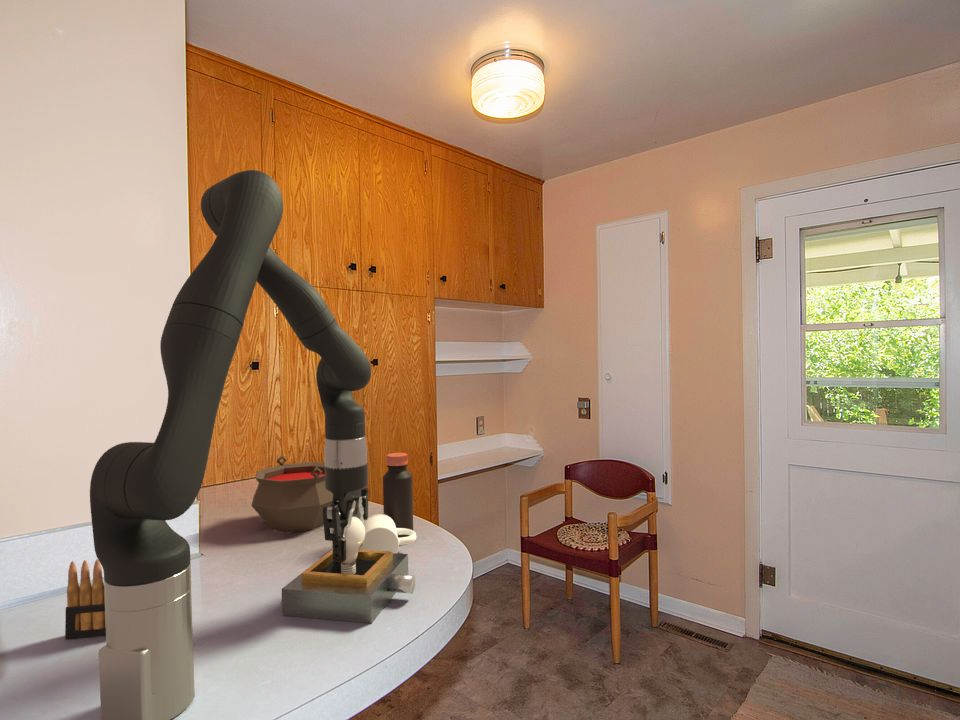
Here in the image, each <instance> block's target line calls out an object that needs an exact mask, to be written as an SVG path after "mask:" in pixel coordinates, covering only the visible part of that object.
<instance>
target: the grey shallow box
mask: <svg viewBox="0 0 960 720" xmlns="http://www.w3.org/2000/svg"><path fill="white" fill-rule="evenodd" d="M415 588H416V576H415V575H413V574H409V554H408V553H398V552H397V553H393V552H390V551H374V550H360V549H359V550H358V555H357V558H356V573H355V574H354V575H351V574H341V562H335V561H334V560H333V548H332V549H331V550H330V551H328V552H327V553H326V554H324V555H323V556H322V557H321V558H319V559H317V561H315V562H314V563H313V564H312V565H310V566H308V568H307V569H305V570H304V571H302V572H301V573H300V574H299V575H297V576H296V577H295V578H293V579H292V580H291V581H290V582H288V583H287V584H286V585H284V587H282V588H281V615H282V616H284V617H295V618H296V617H297V618H305V619H318V620H327V621H328V620H329V621H337V622H338V621H339V622H340V621H341V622H351V623H362V624H370V625H371V624H372V623H374V621H375V620H376V618H377V617H379V615H380V614H381V612H382V611H383V610H384V609H385V607H386V606H387V605H388V603H389V602H390V601H391V600H392V599H393V597H394V596H395V595H396V594H399V593H400V594H409V595H410V594H411V595H412V594H413V593H414V591H415Z"/></svg>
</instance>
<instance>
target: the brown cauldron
mask: <svg viewBox="0 0 960 720" xmlns="http://www.w3.org/2000/svg"><path fill="white" fill-rule="evenodd" d="M281 460H282V461H281ZM287 461H288V458H286V457H285V456H284V455H282V454H281V455H280V456H279V458H278V459H277V460H276V463H277V464H279V465H275V466H274V465H273V466H272V467H271V466H270V467H268V468H263V469H260V470H257V471H256V473H255V477H254V479H255V480H256V481H257V482H258V484H257V487H256V489H255V491H254V495H253V497H252V502H251V507H252V508H253V509H254V511H255V512H256V513H257V514H258V515H259V517H261V519H262V521H264V522H265V523H266V524H267V526H268V527H269V528H270V529H271V530H272V531H277V532H281V531H282V533H287V532H291V533H298V532H297V531H299V532H306V531H305V530H307V531H312V530H315V529H317V528H319V527H322V526H324V522H323V508H324V507H330V506H331V505H332V499H333V494H332V492H330V491H328V490H326V488H325V463H324V462H319V461H308V462H298V463H297V462H296V463H287Z"/></svg>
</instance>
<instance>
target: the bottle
mask: <svg viewBox="0 0 960 720" xmlns="http://www.w3.org/2000/svg"><path fill="white" fill-rule="evenodd" d="M385 458H386V468H387V471H386V472H385V473H384V475H383V476H382V498H383V499H382V504H383V508H382V509H383V514H386V515H388V516H389V517H390V518H391V519H392V520H393V521H394V523H395V526H396V528H405V529H410V530H413V531H414V505H413V504H414V499H413V497H414V495H413V475H412V474H411V473H410V471H409V470H408V469H407V467H408V464H409V457H408V453H406V452H392V453H388V454H386V456H385ZM408 536H410V535H398V538H402V537H408Z"/></svg>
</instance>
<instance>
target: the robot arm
mask: <svg viewBox="0 0 960 720" xmlns="http://www.w3.org/2000/svg"><path fill="white" fill-rule="evenodd" d="M200 210H201V214H202V217H203V219H204V221H205V222H206V224H207V226H208V227H209V229H210V230H211V232H212V233H214V235H215V236H216V237H215V239H214V241H213V243H212V245H211V247H210V248H209V250H208V251H207V253H206V254H205V255H204V257H203V258H202V259H201V260H200V262H199V263H198V264H197V266H196V267H195V268H194V270H193V271H191V273H190V275H189V276H188V277H187V279H186V280H185V282H184V283H183V285H182V286H181V288H180V289H179V292H178V293H177V295H176V297H175V299H174V300H173V303H172V306H171V308H170V311H169V313H168V317H167V318H166V322H165V325H164V328H163V331H162V334H161V338H160V345H159V346H160V349H159V350H160V357H161V362H162V363H161V364H162V367H163V371H164V375H165V379H166V384H167V385H166V386H167V403H166V407H165V412H164V415H163V419H162V422H161V425H160V428H159V431H158V434H157V435H156V438H155V440H154V442H147V441H146V442H145V441H144V442H143V441H129V442H122V443H118V444H116V445H114V446H111V447H110V448H108V449H107V450H106V451H105V452H104V453H103V454H101V456H100V458H99V459H98V460H97V461H96V464H95V466H94V468H93V470H92V474H91V477H90V484H89V485H90V486H89V504H90V516H91V527H92V537H93V547H94V552H95V556H96V558H97V559H98V560H99V562H100V565H101V568H102V572H103V583H104V591H105V623H106V636H105V644H104V646H102V647H100V648H99V649H98V661H99V662H98V667H99V668H98V669H99V696H100V720H172V719H174V718H176V717H177V716H178V715H180V714H181V713H183V712H184V711H185V710H186V709H187V708H188V707H189V706H190V704H191V703H193V700H194V698H195V665H194V664H195V663H194V661H195V660H194V639H193V638H194V634H193V607H192V601H193V600H192V568H191V565H192V564H191V549H190V544H189V542H188V541H187V539H186V538H184V537H183V536H182V535H180V534H179V533H177V532H176V531H174V530H173V529H172V527H171V526H170V525H169V524H168V523H167V521H172V520H174V519H176V518H179V517H181V516H183V515H184V514H185V513H186V512H187V511H189V509H190V508H191V506H193V504H194V502H196V499H197V497H198V494H199V493H200V491H201V487H202V485H203V481H204V477H205V474H206V469H207V464H208V460H209V456H210V454H209V453H210V449H211V444H212V439H213V434H214V428H215V423H216V418H217V414H218V411H219V406H220V402H221V399H222V396H223V391H224V389H225V384H226V381H227V377H228V374H229V370H230V367H231V364H232V361H233V358H234V356H235V353H236V350H237V347H238V343H239V340H240V338H241V333H242V330H243V328H244V323H245V319H246V315H247V311H248V309H249V305H250V302H251V300H252V297H253V293H254V290H255V286H256V283H257V284H258V285H259V286H260V287H261V288H262V289H263V290H264V291H265V293H266V294H267V295H268V296H269V298H270V299H271V300H272V302H273V303H274V304H275V305H276V306H277V308H278V309H279V311H280V312H281V314H282V316H283V317H284V318H285V320H286V322H287V323H288V324H289V327H290V328H291V329H292V331H293V332H294V335H296V337H297V339H298V340H299V341H300V343H301V344H302V345H303V347H305V349H306V350H309V351H310V352H314V354H315V353H316V354H317V355H318V356H320V359H319V361H318V364H317V368H316V374H315V376H316V377H315V378H316V386H317V390H318V394H319V398H320V403H321V406H322V410H323V413H324V433H325V435H324V436H325V438H324V450H323V454H324V456H323V458H324V460H323V461H324V462H323V463H325V488H326V490H328V491H330V492H332V494H333V499H332V505H331V506H330V507H324V508H323V522H324V525H323V530H324V539H325V541H328V542H331V541H332V543H333V545H332V549H333V560H334V561H335V562H344V561H345V560H346V540H345V539H346V534H347V529H348V528H349V527H350V526H351V520H352V517H353V516H355V517H357V518H359V519H360V520H361V521H362V522H363V524H364V520H367V519H368V517H369V488H367V487H368V484H369V482H368V481H369V479H368V474H369V470H368V447H367V440H366V422H365V421H366V415H365V409H364V408H363V406H362V405H360V404H358V403H357V402H356V401H355V398H354V395H353V392H357V391H360V390H363V389H364V388H365V387H366V386H368V384H369V382H370V380H371V377H372V368H371V364H370V360H369V358H368V357H367V355H366V353H365V352H364V351H363V350H362V348H361V347H360V346H359V345H358V344H357V343H356V342H355V340H354V339H353V338H352V337H351V336H350V335H349V334H348V333H347V332H346V331H345V330H344V329H343V328H342V327H341V326H340V325H339V323H338V322H337V321H338V320H337V319H336V317H335V316H334V314H333V313H332V312H331V309H330V308H329V306H328V304H327V303H326V301H325V300H324V298H323V297H322V295H321V294H320V293H319V291H318V290H317V289H316V288H315V287H314V286H313V285H312V284H311V283H310V282H308V281H307V280H306V279H305V278H304V277H302V275H300V274H299V273H297V272H296V271H295V270H293V269H292V268H291V267H290V266H288V264H286V263H285V262H284V260H282V259H281V258H280V257H279V256H278V255H277V254H276V253H275V251H274V250H273V249H272V247H271V243H272V242H273V240H274V237H275V235H276V232H277V231H278V229H279V226H280V223H281V221H282V218H283V212H284V200H283V196H282V192H281V190H280V187H279V185H278V184H277V183H276V181H275V180H274V179H273V178H272V177H271V176H270V175H269V174H267V173H265V172H263V171H260V170H255V169H249V170H242V171H239V172H235V173H234V174H231V175H230V176H227V177H226V178H224V179H222V180H220V181H218V182H217V183H215V184H213V185H211V186H210V187H208V188H207V189H206V190H205V191H204V192H203V194H202V196H201V200H200ZM340 520H345V521H344V522H340ZM340 527H342V531H341V528H340ZM331 528H332V529H331ZM330 529H331V533H330ZM362 545H363V543H362ZM362 545H361V546H362ZM361 546H360V547H361Z"/></svg>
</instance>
